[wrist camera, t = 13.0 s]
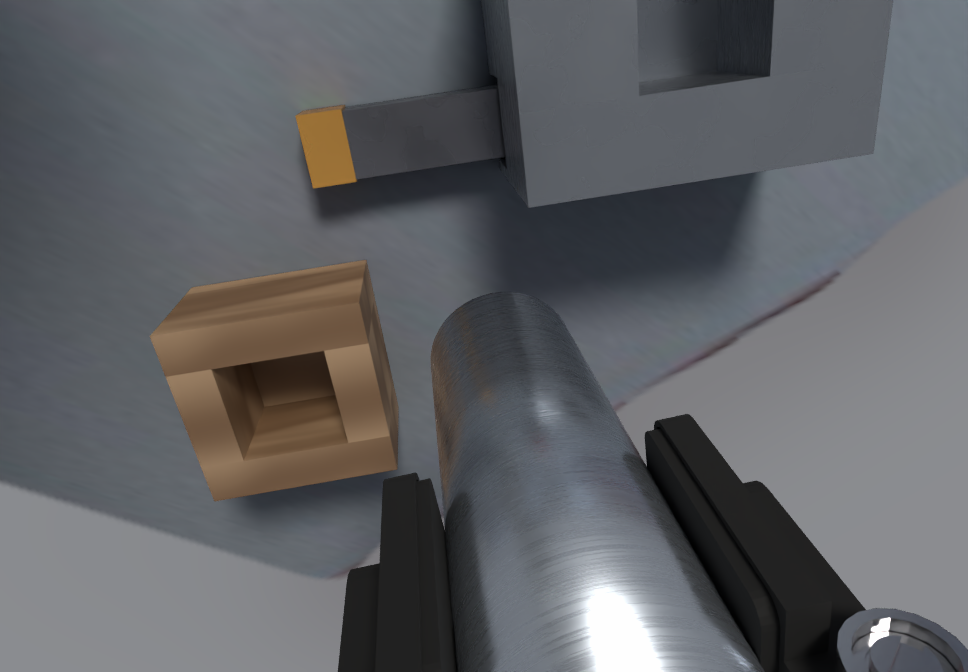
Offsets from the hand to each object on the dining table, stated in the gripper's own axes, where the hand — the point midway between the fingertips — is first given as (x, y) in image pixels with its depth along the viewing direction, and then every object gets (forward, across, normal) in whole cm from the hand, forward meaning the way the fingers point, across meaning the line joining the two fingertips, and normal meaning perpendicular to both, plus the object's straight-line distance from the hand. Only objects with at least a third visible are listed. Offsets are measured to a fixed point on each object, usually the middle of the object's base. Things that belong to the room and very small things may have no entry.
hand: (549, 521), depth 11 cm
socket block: (+24, -10, -6) cm, 27 cm away
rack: (+24, +10, +7) cm, 27 cm away
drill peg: (+6, 0, 0) cm, 6 cm away
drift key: (+24, -2, -3) cm, 24 cm away
